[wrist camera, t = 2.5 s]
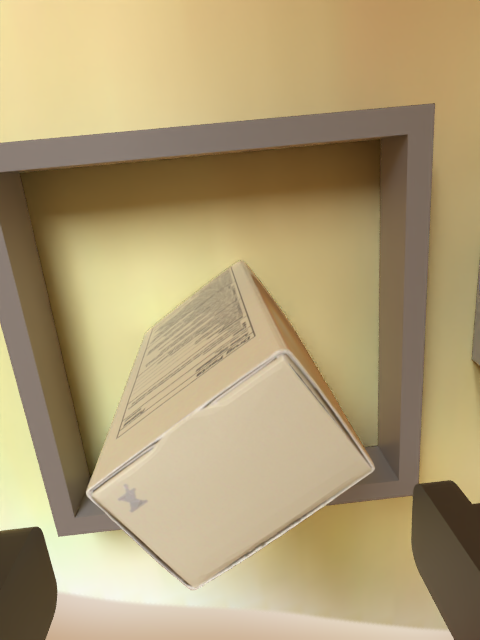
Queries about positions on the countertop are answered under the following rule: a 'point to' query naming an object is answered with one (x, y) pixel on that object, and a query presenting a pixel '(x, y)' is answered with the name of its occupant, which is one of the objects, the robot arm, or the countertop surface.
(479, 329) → the ceramic bowl
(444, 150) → the countertop surface
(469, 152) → the countertop surface
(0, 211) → the parts tray
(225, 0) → the countertop surface
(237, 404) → the skincare box
